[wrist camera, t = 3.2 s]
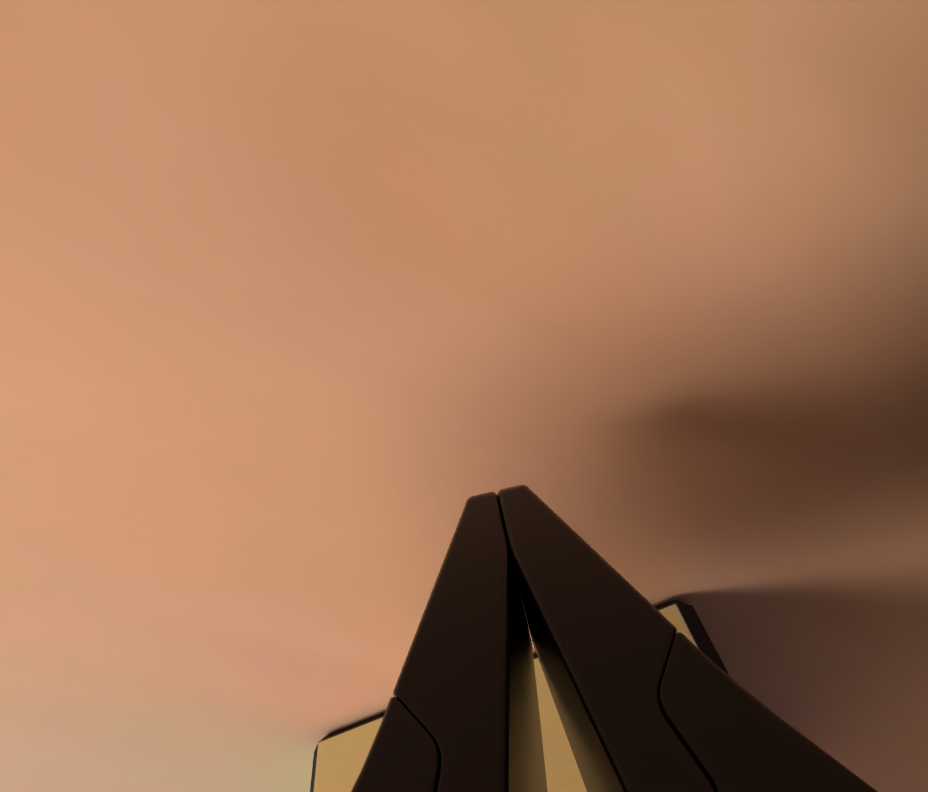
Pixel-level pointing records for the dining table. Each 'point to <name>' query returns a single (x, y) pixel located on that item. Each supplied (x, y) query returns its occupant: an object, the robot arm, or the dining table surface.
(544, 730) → the puzzle cube
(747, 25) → the dining table surface
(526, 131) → the dining table surface
